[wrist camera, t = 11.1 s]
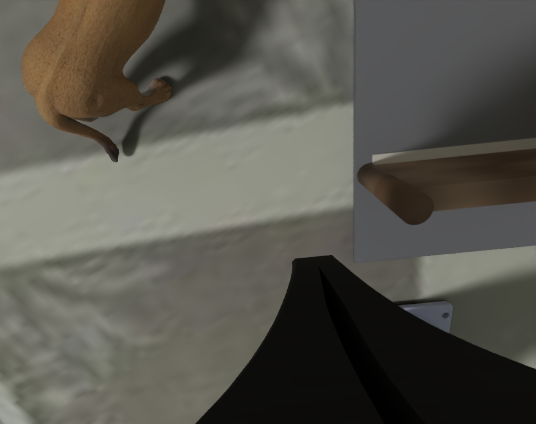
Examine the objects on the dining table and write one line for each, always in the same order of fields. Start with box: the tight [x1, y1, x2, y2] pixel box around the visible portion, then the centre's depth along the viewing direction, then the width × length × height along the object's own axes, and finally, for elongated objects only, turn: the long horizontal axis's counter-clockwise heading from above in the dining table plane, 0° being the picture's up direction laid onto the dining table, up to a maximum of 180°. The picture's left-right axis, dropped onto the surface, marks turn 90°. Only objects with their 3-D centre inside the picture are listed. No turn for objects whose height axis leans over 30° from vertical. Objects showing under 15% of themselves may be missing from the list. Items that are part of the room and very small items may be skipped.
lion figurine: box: [22, 0, 172, 162], centre depth 11 cm, size 15×5×9 cm, turn 159°
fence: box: [357, 148, 536, 225], centre depth 15 cm, size 14×2×6 cm, turn 96°
